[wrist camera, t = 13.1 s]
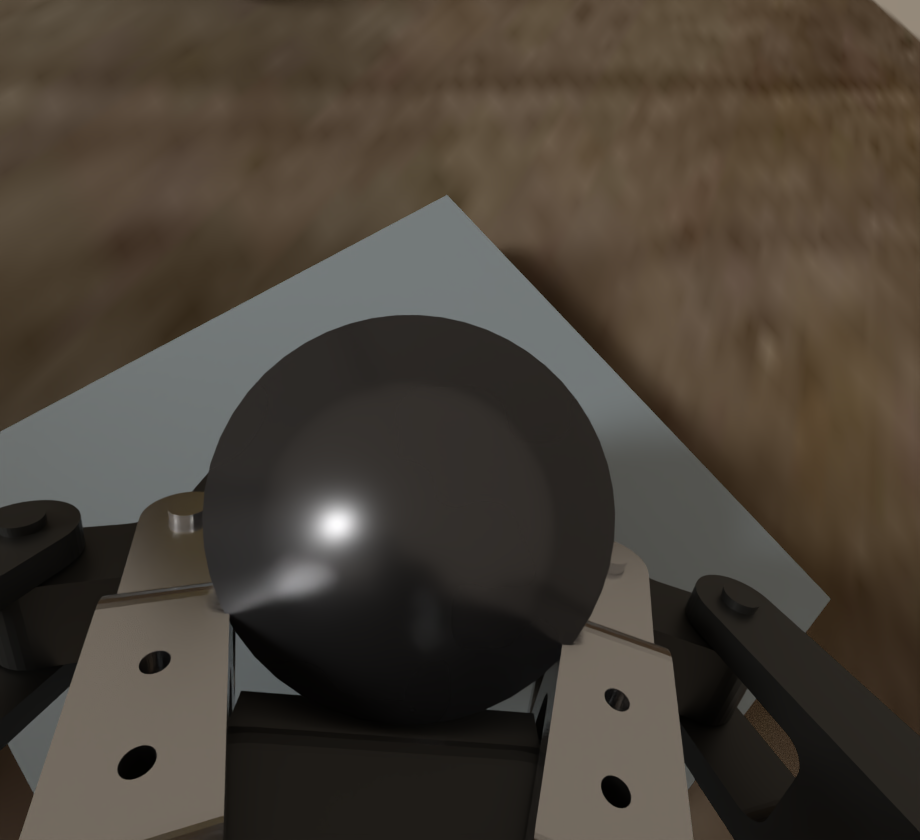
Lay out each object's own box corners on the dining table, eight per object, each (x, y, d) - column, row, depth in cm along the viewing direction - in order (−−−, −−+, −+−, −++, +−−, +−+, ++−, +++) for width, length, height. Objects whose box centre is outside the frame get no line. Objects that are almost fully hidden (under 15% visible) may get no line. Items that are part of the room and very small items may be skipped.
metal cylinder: (283, 550, 15) (111, 450, 5) (412, 455, 16) (450, 254, 7) (381, 689, 14) (374, 858, 4) (509, 574, 15) (696, 524, 6)
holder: (-17, 519, 15) (-122, 496, 12) (437, 256, 21) (447, 195, 18) (324, 1116, 12) (302, 1304, 8) (751, 600, 18) (830, 599, 14)
